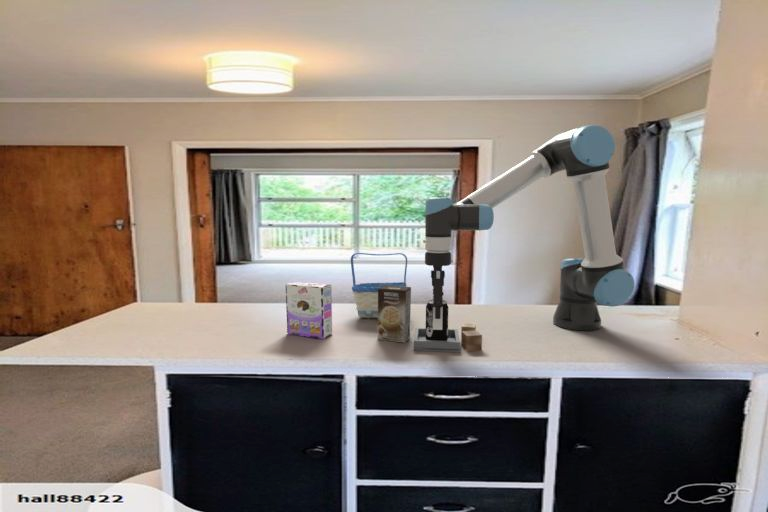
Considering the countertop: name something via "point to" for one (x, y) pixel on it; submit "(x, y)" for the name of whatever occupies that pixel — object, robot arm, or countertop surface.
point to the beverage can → (430, 333)
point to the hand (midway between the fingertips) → (437, 322)
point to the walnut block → (471, 340)
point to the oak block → (468, 327)
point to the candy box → (309, 309)
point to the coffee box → (394, 313)
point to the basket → (370, 292)
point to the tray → (433, 345)
